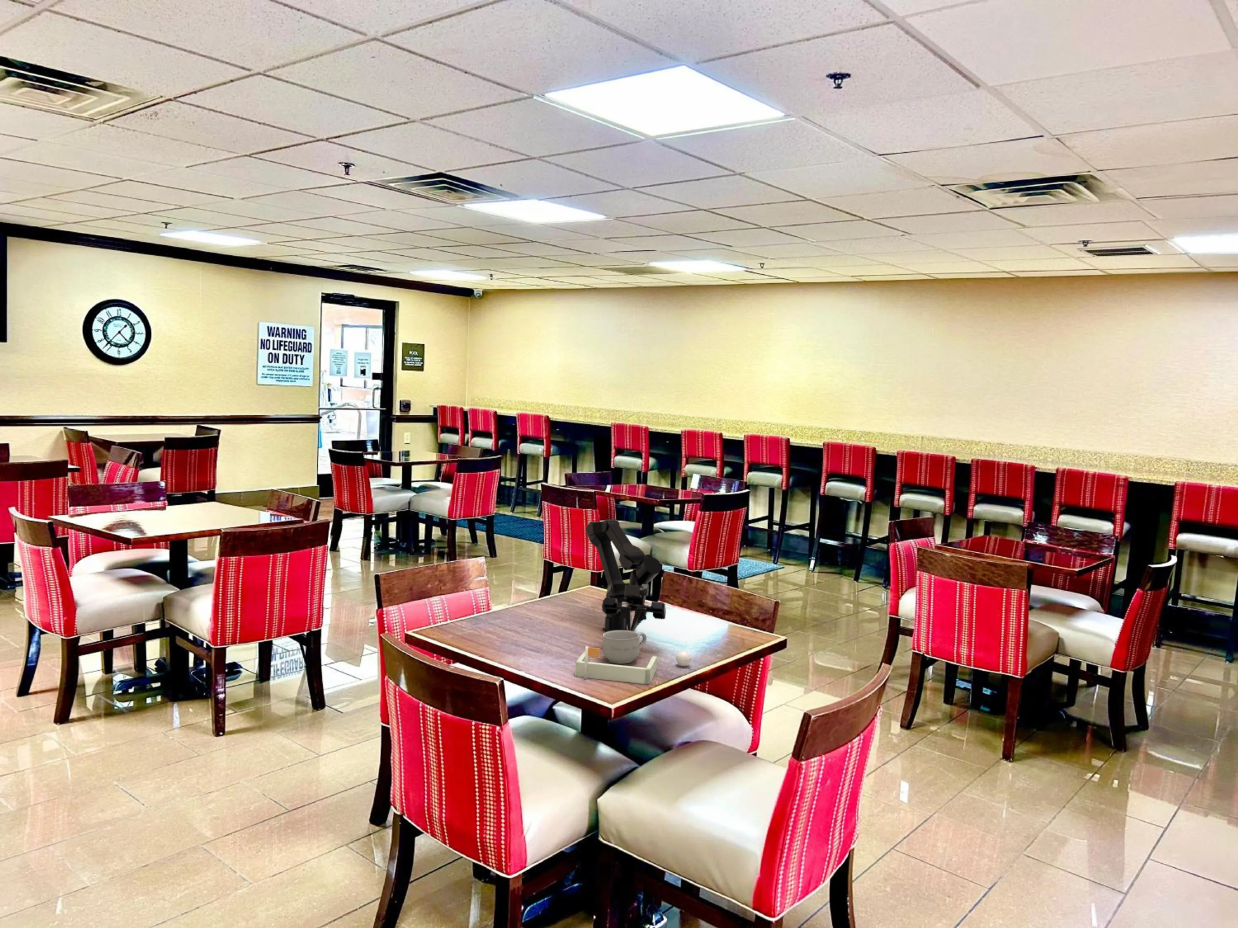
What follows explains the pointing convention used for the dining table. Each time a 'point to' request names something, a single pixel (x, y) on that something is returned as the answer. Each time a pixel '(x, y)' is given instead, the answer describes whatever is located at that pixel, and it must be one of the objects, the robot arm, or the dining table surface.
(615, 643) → the teacup
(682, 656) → the golf ball
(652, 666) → the corral
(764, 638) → the dining table surface
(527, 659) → the dining table surface
